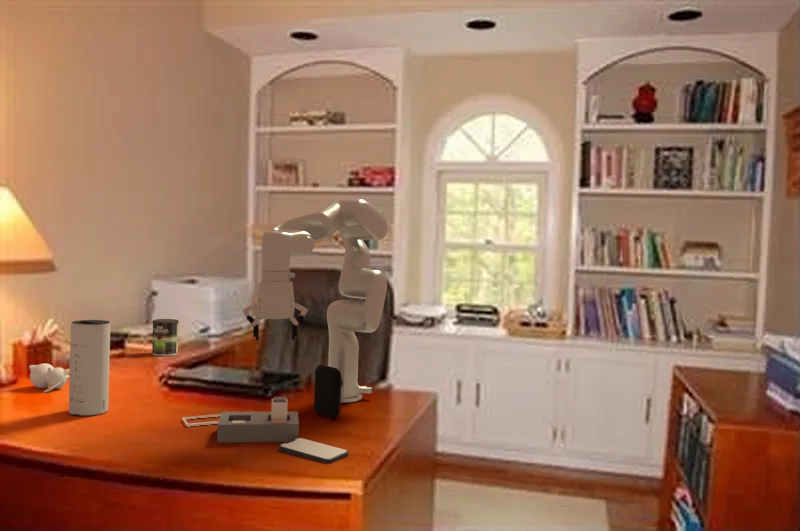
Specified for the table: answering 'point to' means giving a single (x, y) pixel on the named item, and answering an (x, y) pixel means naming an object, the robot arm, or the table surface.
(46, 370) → the cat figurine
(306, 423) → the table surface
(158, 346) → the coffee can
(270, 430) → the hub
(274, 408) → the plug
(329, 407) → the carrying case or bag
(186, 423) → the phone case
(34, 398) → the table surface
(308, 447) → the phone case
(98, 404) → the speaker
